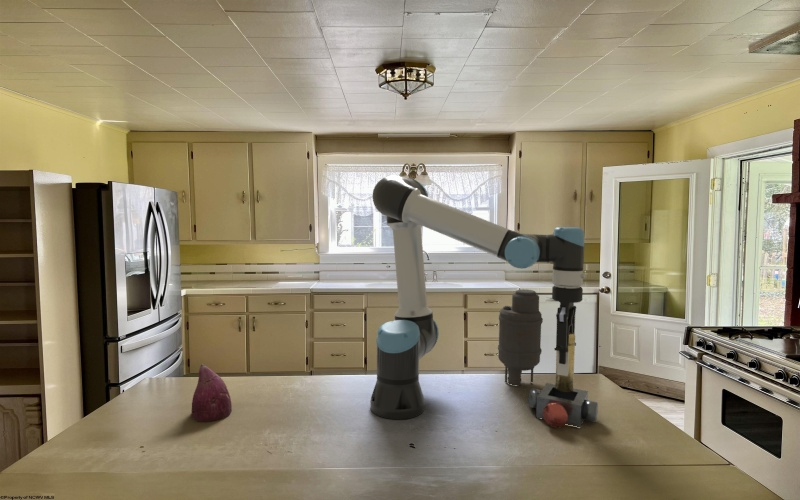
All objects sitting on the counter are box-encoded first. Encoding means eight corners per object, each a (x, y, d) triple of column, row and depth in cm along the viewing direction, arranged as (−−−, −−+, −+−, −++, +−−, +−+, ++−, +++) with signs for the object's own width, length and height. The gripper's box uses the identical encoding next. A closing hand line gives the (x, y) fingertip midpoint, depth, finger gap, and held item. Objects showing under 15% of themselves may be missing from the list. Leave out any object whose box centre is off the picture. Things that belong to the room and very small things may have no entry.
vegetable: (185, 429, 117) (167, 376, 115) (215, 408, 126) (198, 359, 124) (214, 427, 112) (195, 372, 111) (242, 406, 122) (225, 355, 120)
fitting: (553, 389, 118) (555, 334, 117) (557, 384, 122) (558, 330, 121) (571, 393, 116) (573, 337, 115) (574, 387, 120) (576, 333, 119)
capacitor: (533, 394, 134) (536, 295, 131) (490, 384, 141) (493, 291, 139) (545, 380, 145) (548, 289, 143) (505, 371, 152) (508, 285, 150)
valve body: (520, 420, 116) (521, 396, 116) (535, 400, 129) (536, 379, 128) (590, 438, 108) (591, 412, 107) (599, 415, 120) (600, 391, 120)
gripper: (576, 292, 107) (573, 385, 109) (588, 282, 122) (585, 365, 124) (544, 289, 111) (542, 379, 113) (559, 280, 126) (557, 360, 128)
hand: (564, 371), depth 119 cm, fingers closed on fitting, 4 cm apart
